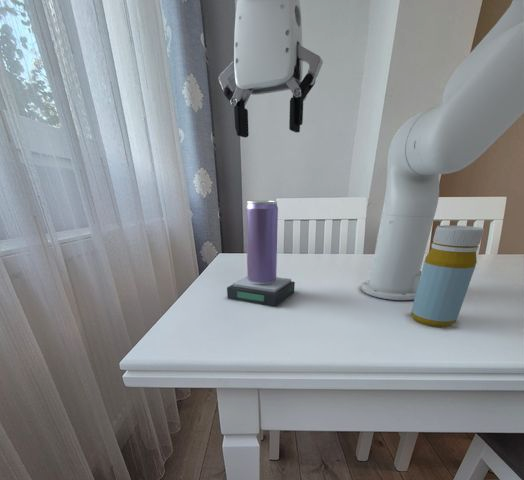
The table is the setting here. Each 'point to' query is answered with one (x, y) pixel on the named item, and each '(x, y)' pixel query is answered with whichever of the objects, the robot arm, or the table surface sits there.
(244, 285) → the scale
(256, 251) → the beverage can
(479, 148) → the robot arm
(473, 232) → the bottle
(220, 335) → the table surface
